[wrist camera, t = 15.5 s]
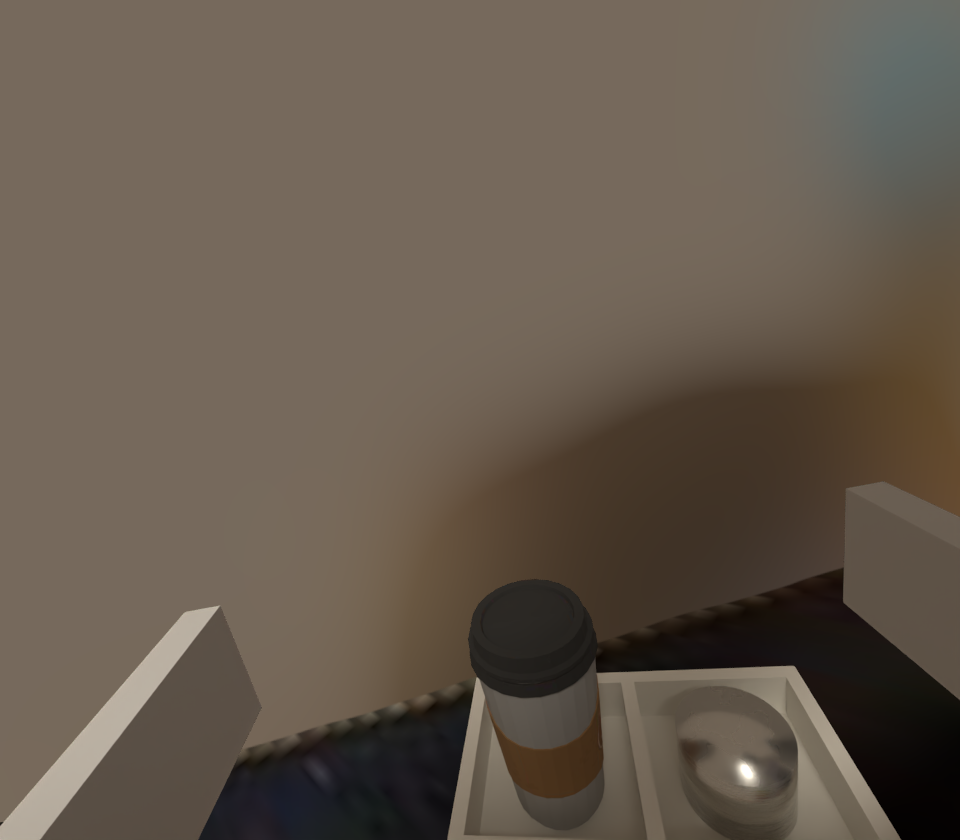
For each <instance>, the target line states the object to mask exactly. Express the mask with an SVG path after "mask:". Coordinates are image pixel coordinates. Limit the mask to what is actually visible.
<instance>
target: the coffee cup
mask: <svg viewBox="0 0 960 840" xmlns="http://www.w3.org/2000/svg"><path fill="white" fill-rule="evenodd" d="M468 641H469V648H470V658H471V665H472V668H473V669H474V671H475V673H476V675H477V677H478V678H479V680H480V683H481V686H482V689H483V692H484V695H485V699H486V704H487V709H488V712H489V715H490V718H491V721H492V724H493V727H494V730H495V733H496V736H497V739H498V742H499V745H500V748H501V751H502V754H503V757H504V760H505V763H506V766H507V769H508V772H509V774H510V776H511V778H512V780H513V783H514V786H515V790H516V793H517V796H518V798H519V800H520V802H521V804H522V806H523V809H524V810H525V811H526V812H527V813H528V814H529V815H530V816H531V818H533V819H534V820H536V821H537V822H539V823H540V824H542V825H543V826H545V827H548V828H551V829H554V830H570V829H573V828H577V827H579V826H581V825H582V824H584V823H585V822H587V821H588V820H589V819H590V818H591V816H592V815H593V814H594V813H595V811H596V810H597V809H598V807H599V804H600V802H601V800H602V798H603V792H604V771H603V760H604V755H603V741H602V727H601V712H600V698H599V687H598V679H597V674H596V662H595V655H596V651H597V639H596V633H595V631H594V629H593V624H592V619H591V617H590V615H589V613H588V612H587V610H586V608H585V607H584V606H583V605H582V603H581V601H580V599H579V597H578V596H577V595H576V594H575V593H574V592H573V591H572V590H571V589H569V588H567V587H565V586H563V585H561V584H559V583H556V582H552V581H548V580H537V579H534V580H533V579H532V580H521V581H517V582H514V583H510V584H507V585H505V586H502V587H500V588H498V589H496V590H495V591H493V592H492V593H490V594H489V595H487V596H486V597H485V598H484V599H483V600H482V601H481V602H480V603H479V604H478V606H477V608H476V610H475V612H474V613H473V617H472V622H471V628H470V633H469V638H468Z"/></svg>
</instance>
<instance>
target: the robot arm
mask: <svg viewBox="0 0 960 840" xmlns="http://www.w3.org/2000/svg"><path fill="white" fill-rule="evenodd" d="M845 507H846V508H845V546H844V586H843V603H845V604H846V605H847V606H848V607H849V608H851V609H852V610H853V611H854V612H855V613H857V614H858V615H859V616H860V617H861V618H863V619H864V620H865V621H866V622H867V623H869V624H870V625H871V626H872V627H873V628H875V629H876V630H877V631H878V632H879V633H881V634H882V635H883V636H884V637H885V638H887V639H888V640H889V641H890V642H891V643H892V644H894V645H895V646H896V647H897V648H898V649H900V650H901V651H902V652H903V653H904V654H906V655H907V656H908V657H909V658H910V659H912V660H913V661H914V662H915V663H916V664H918V665H919V666H920V667H921V668H922V669H924V670H925V671H926V672H927V673H928V674H930V675H931V676H932V677H933V678H934V679H936V680H937V681H938V682H939V683H940V684H942V685H943V686H944V687H945V688H946V689H948V690H949V691H950V692H951V693H952V694H954V695H955V696H956V697H957V698H958V699H959V700H960V517H959V516H957V515H955V514H952V513H950V512H948V511H946V510H944V509H942V508H939V507H937V506H935V505H933V504H931V503H929V502H927V501H924V500H922V499H920V498H918V497H916V496H914V495H911V494H910V493H907V492H905V491H903V490H901V489H899V488H897V487H895V486H892V485H890V484H888V483H886V482H884V481H883V482H879V483H873V484H867V485H862V486H857V487H851V488H846V505H845ZM261 708H262V707H261V704H260V702H259V699H258V698H257V695H256V692H255V690H254V687H253V685H252V682H251V680H250V677H249V675H248V672H247V670H246V668H245V665H244V663H243V660H242V658H241V655H240V653H239V650H238V648H237V645H236V643H235V641H234V638H233V636H232V633H231V631H230V628H229V626H228V624H227V621H226V619H225V616H224V614H223V611H222V609H221V606H215V607H210V608H205V609H199V610H194V611H188V612H185V613H184V614H183V615H182V616H181V617H180V619H179V620H178V621H177V622H176V623H175V624H174V625H173V627H172V628H171V629H170V630H169V631H168V632H167V634H166V635H165V636H164V637H163V638H162V639H161V641H160V642H159V643H158V644H157V645H156V646H155V647H154V649H153V650H152V651H151V652H150V653H149V654H148V656H147V657H146V658H145V659H144V660H143V661H142V663H141V664H140V665H139V666H138V667H137V668H136V670H135V671H134V672H133V673H132V674H131V675H130V676H129V678H128V679H127V680H126V681H125V682H124V683H123V685H122V686H121V687H120V688H119V689H118V690H117V692H116V693H115V694H114V695H113V696H112V697H111V699H110V700H109V701H108V702H107V703H106V705H105V706H104V707H103V708H102V709H101V710H100V711H99V712H98V714H97V715H96V716H95V717H94V718H93V719H92V720H91V722H90V723H89V724H88V725H87V726H86V727H85V729H84V730H83V731H82V732H81V733H80V734H79V736H78V737H77V738H76V739H75V740H74V741H73V743H72V744H71V745H70V746H69V747H68V748H67V749H66V751H65V752H64V753H63V754H62V755H61V756H60V758H59V759H58V760H57V761H56V762H55V764H54V765H53V766H52V767H51V768H50V769H49V770H48V772H47V773H46V774H45V775H44V776H43V777H42V779H41V780H40V781H39V782H38V783H37V784H36V785H35V787H34V788H33V789H32V790H31V791H30V792H29V794H28V795H27V796H26V797H25V798H24V799H23V801H22V802H21V803H20V804H19V805H18V806H17V808H16V809H15V810H14V811H13V812H12V813H11V814H10V816H9V817H8V818H7V819H6V820H5V821H4V822H1V823H0V840H198V838H199V836H200V834H201V832H202V830H203V828H204V826H205V824H206V822H207V820H208V818H209V816H210V814H211V811H212V809H213V807H214V805H215V803H216V801H217V799H218V797H219V795H220V793H221V791H222V789H223V787H224V785H225V783H226V780H227V778H228V776H229V774H230V772H231V770H232V768H233V766H234V764H235V762H236V760H237V758H238V756H239V754H240V752H241V750H242V747H243V745H244V743H245V741H246V739H247V737H248V735H249V733H250V731H251V729H252V727H253V724H254V723H255V720H256V719H257V716H258V714H259V712H260V710H261Z"/></svg>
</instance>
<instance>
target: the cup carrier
mask: <svg viewBox="0 0 960 840" xmlns="http://www.w3.org/2000/svg"><path fill="white" fill-rule="evenodd" d="M596 674H597V679H598V687H599V698H600V712H601V727H602V741H603V755H604V760H603V771H604V792H603V798H602V800H601V802H600V804H599V807H598V809H597V810H596V811H595V813H594V814H593V815H592V816H591V818H590V819H589V820H588V821H587V822H585V823H584V824H582V825H581V826H579V827H577V828H573V829H570V830H554V829H551V828H548V827H545V826H543V825H542V824H540V823H539V822H537V821H536V820H534V819H533V818H531V816H530V815H529V814H528V813H527V812H526V811H525V810H524V809H523V806H522V804H521V802H520V800H519V798H518V796H517V793H516V790H515V786H514V783H513V780H512V778H511V776H510V774H509V772H508V769H507V766H506V763H505V760H504V757H503V754H502V751H501V748H500V745H499V742H498V739H497V736H496V733H495V730H494V727H493V724H492V721H491V718H490V715H489V712H488V709H487V704H486V699H485V695H484V692H483V689H482V686H481V683H480V680H479V678H477V679H476V684H475V690H474V695H473V701H472V706H471V712H470V717H469V723H468V728H467V734H466V739H465V745H464V750H463V756H462V761H461V767H460V772H459V778H458V783H457V789H456V794H455V800H454V805H453V811H452V816H451V822H450V827H449V833H448V838H447V840H730V839H728V838H726V837H724V836H722V835H721V834H719V833H717V832H716V831H714V830H713V829H712V828H710V827H709V826H708V825H707V824H706V823H705V822H704V821H702V819H701V818H700V817H699V816H698V815H697V814H696V813H695V811H694V810H693V809H692V807H691V805H690V804H689V802H688V800H687V798H686V796H685V794H684V791H683V788H682V783H681V777H680V767H679V757H678V747H677V737H676V726H675V716H676V711H677V708H678V706H679V704H680V703H681V701H682V700H683V699H684V698H685V697H686V696H687V695H688V694H690V693H691V692H693V691H695V690H697V689H700V688H704V687H709V686H725V687H732V688H737V689H740V690H743V691H746V692H748V693H751V694H753V695H755V696H757V697H759V698H761V699H762V700H764V701H766V702H767V703H768V704H770V705H771V706H772V707H773V708H775V709H776V710H777V711H778V712H779V713H780V714H781V715H782V716H783V717H784V719H785V720H786V721H787V723H788V724H789V726H790V727H791V729H792V731H793V733H794V735H795V738H796V741H797V747H798V818H797V823H796V825H795V827H794V829H793V831H792V832H791V833H790V835H788V836H787V837H786V838H785V839H784V840H901V839H900V837H899V835H898V834H897V832H896V831H895V829H894V827H893V826H892V824H891V822H890V821H889V819H888V817H887V816H886V814H885V813H884V811H883V809H882V808H881V806H880V804H879V803H878V801H877V800H876V798H875V796H874V795H873V793H872V791H871V790H870V788H869V787H868V785H867V783H866V782H865V780H864V778H863V777H862V775H861V774H860V772H859V770H858V769H857V767H856V765H855V764H854V762H853V761H852V759H851V757H850V756H849V754H848V752H847V751H846V749H845V748H844V746H843V744H842V743H841V741H840V739H839V738H838V736H837V735H836V733H835V731H834V730H833V728H832V726H831V725H830V723H829V722H828V720H827V718H826V717H825V715H824V713H823V712H822V710H821V709H820V707H819V705H818V704H817V702H816V700H815V699H814V697H813V696H812V694H811V692H810V691H809V689H808V687H807V686H806V684H805V683H804V681H803V679H802V678H801V676H800V674H799V673H798V671H797V670H796V668H795V666H777V667H750V668H723V669H696V670H669V671H642V672H615V673H596Z"/></svg>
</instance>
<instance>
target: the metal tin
mask: <svg viewBox="0 0 960 840" xmlns="http://www.w3.org/2000/svg"><path fill="white" fill-rule="evenodd" d="M675 726H676V737H677V747H678V757H679V767H680V777H681V783H682V788H683V791H684V794H685V796H686V798H687V800H688V802H689V804H690V805H691V807H692V809H693V810H694V811H695V813H696V814H697V815H698V816H699V817H700V818H701V819H702V821H704V822H705V823H706V824H707V825H708V826H709V827H710V828H712V829H713V830H714V831H716V832H717V833H719V834H721V835H722V836H724V837H726V838H728V839H730V840H784V839H785V838H786V837H787V836H788V835H790V833H791V832H792V831H793V829H794V827H795V825H796V823H797V818H798V747H797V741H796V738H795V735H794V733H793V731H792V729H791V727H790V726H789V724H788V723H787V721H786V720H785V719H784V717H783V716H782V715H781V714H780V713H779V712H778V711H777V710H776V709H775V708H773V707H772V706H771V705H770V704H768V703H767V702H766V701H764V700H762V699H761V698H759V697H757V696H755V695H753V694H751V693H748V692H746V691H743V690H740V689H737V688H732V687H725V686H709V687H704V688H700V689H697V690H695V691H693V692H691V693H690V694H688V695H687V696H686V697H685V698H684V699H683V700H682V701H681V703H680V704H679V706H678V708H677V711H676V716H675Z"/></svg>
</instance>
